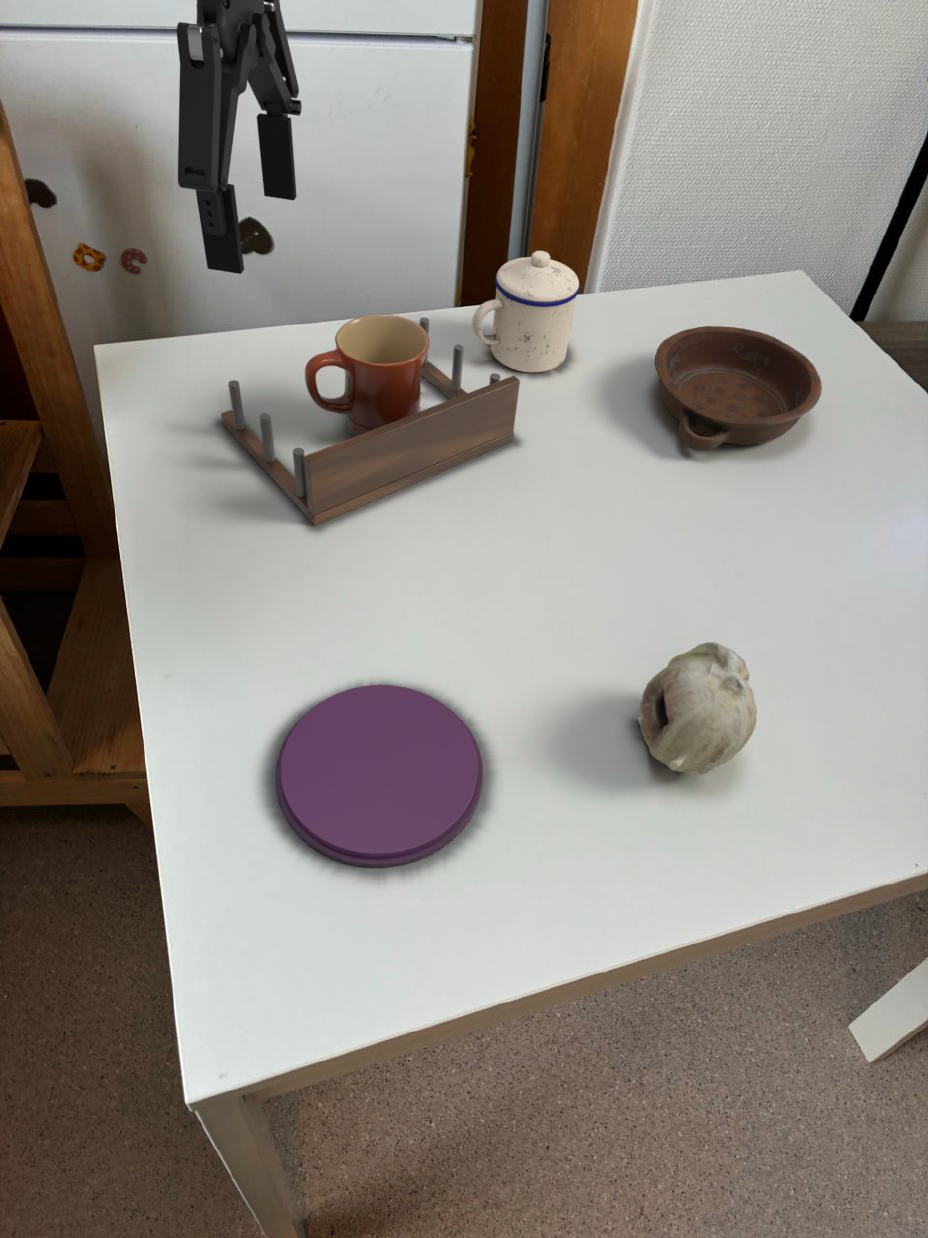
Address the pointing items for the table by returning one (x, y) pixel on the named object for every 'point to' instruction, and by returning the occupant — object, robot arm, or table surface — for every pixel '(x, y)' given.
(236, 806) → the table surface
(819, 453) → the table surface
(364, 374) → the mug
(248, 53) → the robot arm
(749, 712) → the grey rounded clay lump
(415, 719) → the plum lid
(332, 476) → the dish rack
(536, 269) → the teacup with lid
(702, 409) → the dish
